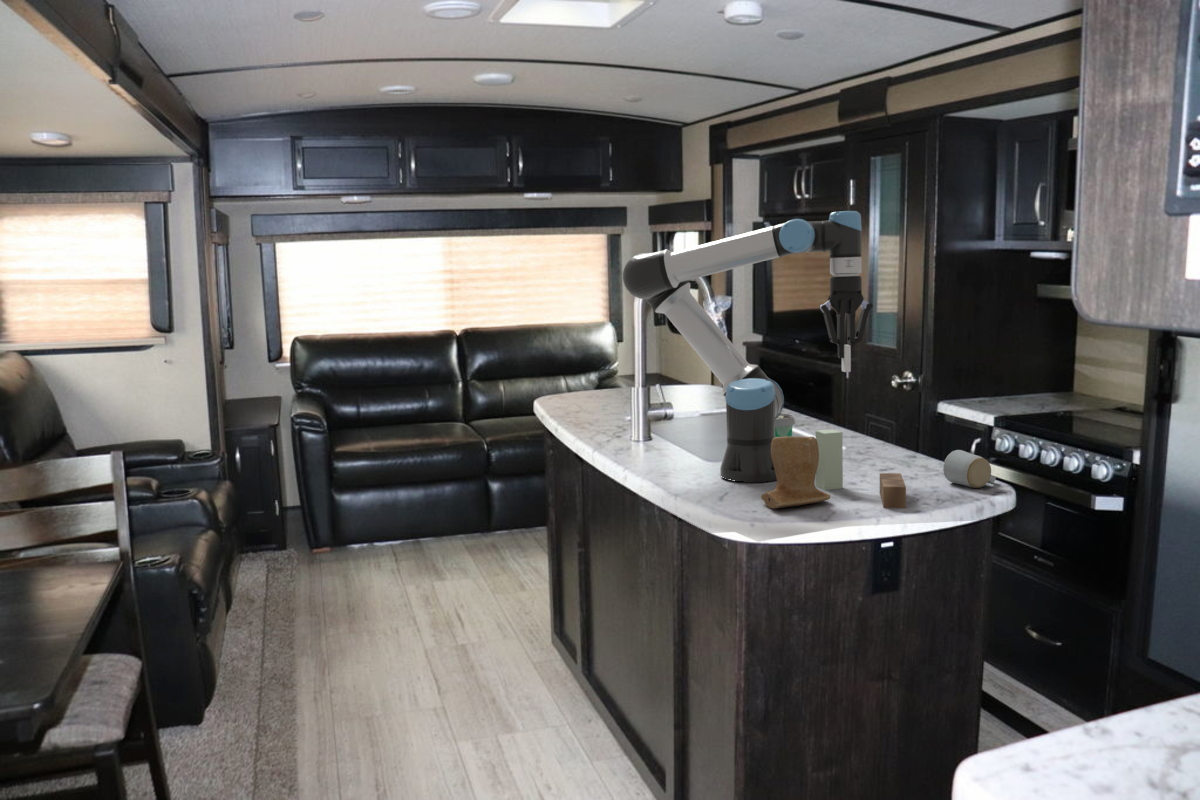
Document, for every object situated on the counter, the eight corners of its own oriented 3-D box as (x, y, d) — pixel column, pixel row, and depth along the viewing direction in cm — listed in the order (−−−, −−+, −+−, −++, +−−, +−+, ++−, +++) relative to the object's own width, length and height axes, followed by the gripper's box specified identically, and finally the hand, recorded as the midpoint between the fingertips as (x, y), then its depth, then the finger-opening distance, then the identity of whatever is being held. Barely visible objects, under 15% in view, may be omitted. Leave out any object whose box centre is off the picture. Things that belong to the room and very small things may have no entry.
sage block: (824, 490, 222) (824, 433, 221) (815, 485, 227) (815, 430, 225) (842, 488, 223) (842, 432, 222) (833, 484, 228) (833, 429, 226)
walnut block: (879, 492, 218) (883, 507, 204) (879, 472, 217) (883, 486, 204) (900, 493, 217) (905, 508, 203) (900, 473, 216) (906, 487, 203)
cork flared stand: (804, 494, 219) (804, 428, 217) (838, 504, 208) (837, 435, 206) (747, 503, 213) (746, 435, 211) (778, 514, 202) (777, 442, 200)
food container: (795, 456, 263) (794, 419, 262) (771, 456, 264) (771, 419, 263) (795, 447, 275) (795, 412, 274) (773, 447, 276) (772, 412, 275)
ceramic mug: (968, 490, 216) (969, 456, 215) (942, 484, 224) (942, 451, 223) (1004, 486, 221) (1005, 452, 220) (977, 479, 228) (978, 447, 227)
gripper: (823, 276, 235) (824, 374, 238) (877, 274, 236) (877, 371, 239) (815, 276, 242) (816, 370, 246) (867, 274, 243) (867, 368, 246)
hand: (846, 371), depth 242 cm, fingers closed
